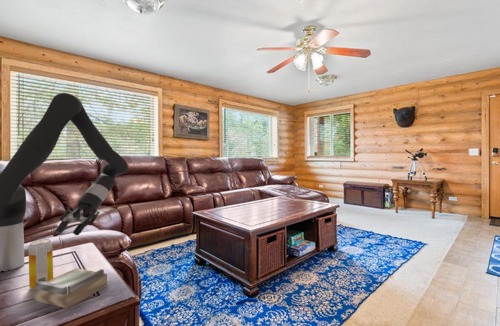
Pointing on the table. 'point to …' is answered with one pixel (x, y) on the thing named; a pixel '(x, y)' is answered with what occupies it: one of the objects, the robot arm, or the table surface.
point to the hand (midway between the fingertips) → (66, 233)
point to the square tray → (70, 287)
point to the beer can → (40, 261)
